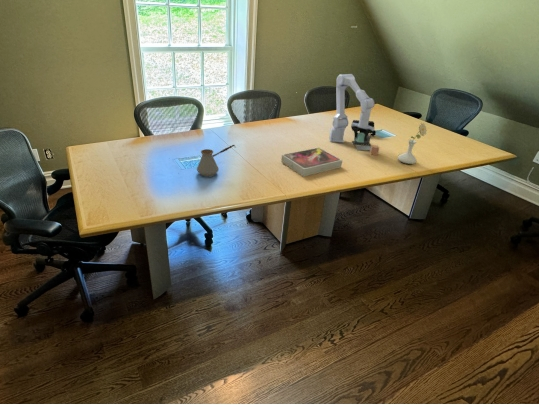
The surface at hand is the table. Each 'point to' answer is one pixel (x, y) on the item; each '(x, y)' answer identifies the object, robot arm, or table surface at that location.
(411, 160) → the flower in vase
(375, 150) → the salmon pink block
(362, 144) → the block
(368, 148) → the pad
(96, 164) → the table surface
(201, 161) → the coffee pot
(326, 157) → the product packaging
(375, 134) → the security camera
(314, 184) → the table surface
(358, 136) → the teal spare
